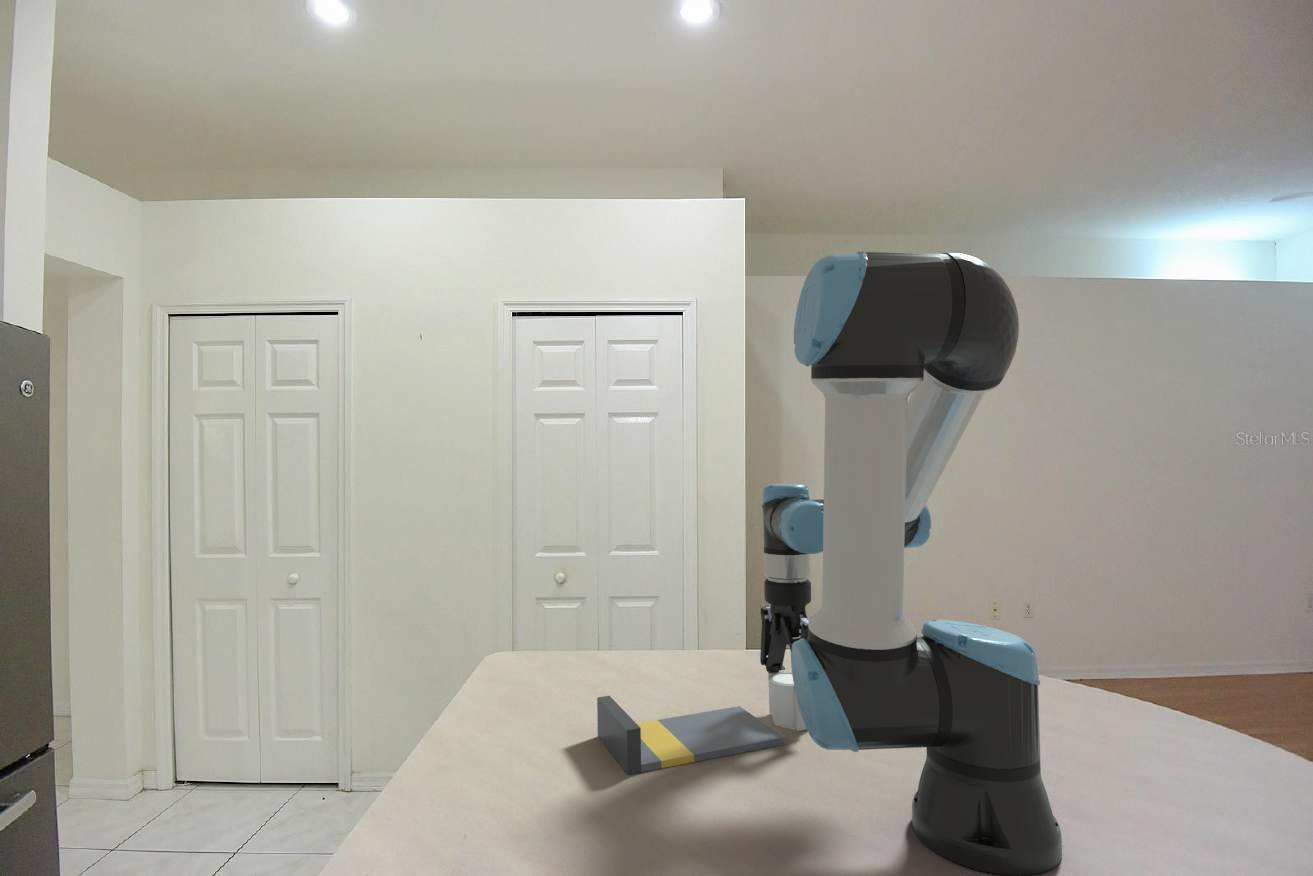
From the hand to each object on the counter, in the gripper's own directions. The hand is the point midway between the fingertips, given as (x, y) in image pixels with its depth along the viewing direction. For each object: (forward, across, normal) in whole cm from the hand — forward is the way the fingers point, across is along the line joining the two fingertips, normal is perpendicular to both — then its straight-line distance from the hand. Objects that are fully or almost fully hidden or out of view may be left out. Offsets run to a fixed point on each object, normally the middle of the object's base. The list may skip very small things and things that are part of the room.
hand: (790, 720), depth 110 cm
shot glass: (0, 0, 0) cm, 0 cm away
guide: (0, 0, +18) cm, 18 cm away
